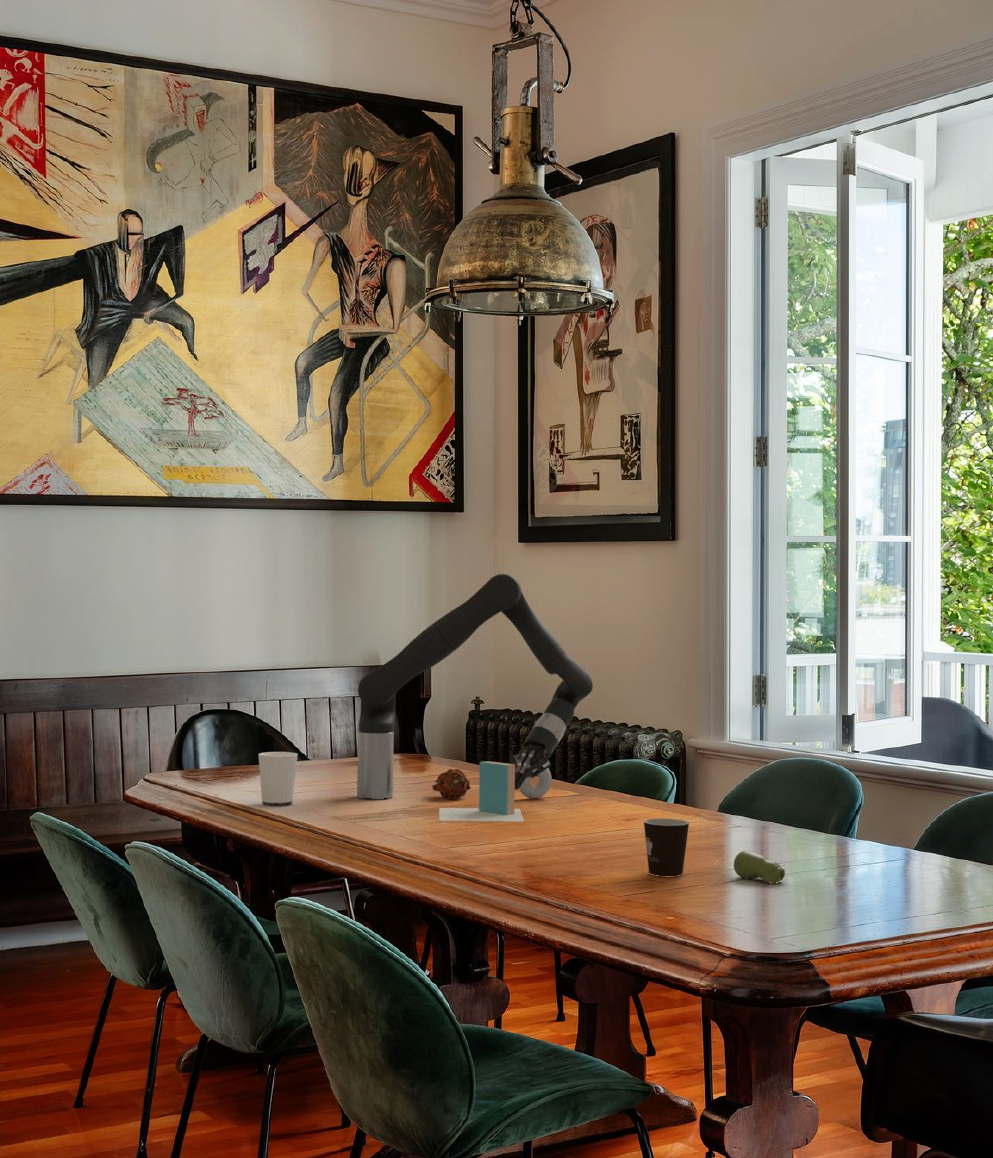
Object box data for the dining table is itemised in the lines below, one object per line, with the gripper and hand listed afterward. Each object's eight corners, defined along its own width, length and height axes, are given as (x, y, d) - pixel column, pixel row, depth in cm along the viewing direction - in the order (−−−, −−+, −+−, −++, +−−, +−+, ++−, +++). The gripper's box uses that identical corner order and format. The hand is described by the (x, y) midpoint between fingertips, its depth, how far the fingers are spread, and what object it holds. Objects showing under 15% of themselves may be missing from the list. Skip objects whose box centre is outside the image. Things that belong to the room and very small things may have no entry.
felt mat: (439, 822, 320) (439, 820, 320) (439, 809, 339) (439, 807, 340) (524, 822, 320) (524, 821, 320) (519, 810, 340) (519, 808, 340)
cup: (293, 807, 340) (294, 756, 340) (254, 806, 339) (255, 755, 340) (299, 801, 349) (300, 752, 350) (261, 801, 349) (261, 751, 350)
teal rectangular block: (487, 809, 338) (488, 761, 338) (514, 813, 332) (514, 764, 332) (479, 810, 335) (479, 762, 336) (505, 815, 329) (506, 765, 330)
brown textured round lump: (463, 807, 354) (438, 808, 364) (483, 786, 359) (458, 787, 368) (445, 782, 352) (420, 783, 362) (466, 761, 357) (441, 763, 366)
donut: (547, 797, 365) (548, 759, 365) (553, 798, 362) (554, 761, 362) (514, 798, 360) (514, 761, 360) (520, 800, 357) (520, 762, 357)
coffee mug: (687, 879, 256) (688, 826, 256) (641, 877, 258) (642, 824, 258) (689, 868, 268) (690, 817, 268) (645, 865, 269) (646, 815, 269)
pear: (745, 845, 262) (791, 861, 256) (741, 872, 263) (787, 888, 256) (730, 848, 258) (777, 864, 252) (726, 876, 258) (772, 892, 252)
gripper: (519, 723, 350) (486, 775, 341) (559, 727, 341) (526, 780, 332) (532, 742, 354) (500, 794, 344) (572, 746, 345) (540, 800, 335)
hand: (513, 787), depth 338 cm, fingers closed
